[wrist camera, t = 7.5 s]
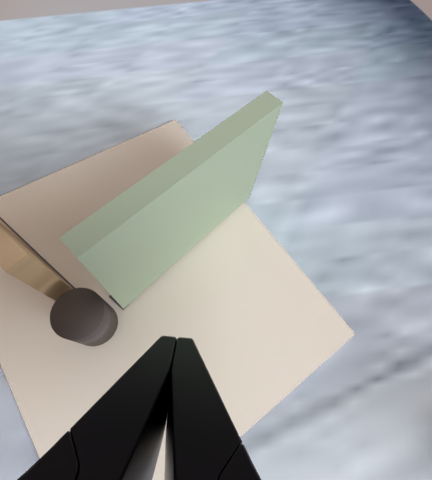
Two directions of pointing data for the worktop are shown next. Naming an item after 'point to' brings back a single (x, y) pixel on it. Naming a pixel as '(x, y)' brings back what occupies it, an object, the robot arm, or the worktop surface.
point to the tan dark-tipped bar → (59, 294)
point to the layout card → (157, 302)
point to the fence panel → (175, 204)
